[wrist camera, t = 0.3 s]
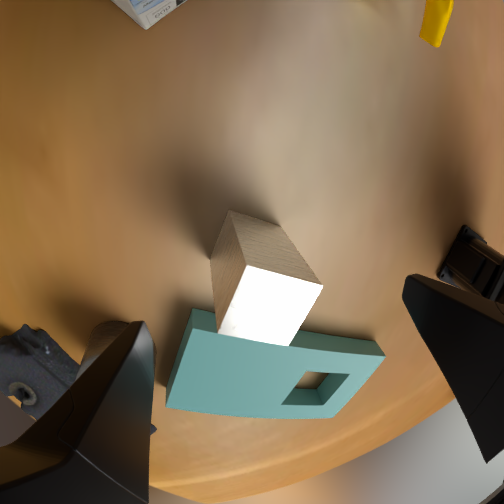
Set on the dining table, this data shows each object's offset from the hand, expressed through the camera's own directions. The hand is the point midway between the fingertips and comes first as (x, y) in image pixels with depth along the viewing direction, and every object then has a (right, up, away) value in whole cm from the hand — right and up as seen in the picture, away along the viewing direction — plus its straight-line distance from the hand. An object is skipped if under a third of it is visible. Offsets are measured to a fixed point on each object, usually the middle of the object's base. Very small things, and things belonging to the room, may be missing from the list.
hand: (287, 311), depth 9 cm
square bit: (-2, +2, +12) cm, 12 cm away
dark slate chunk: (-24, -16, +17) cm, 33 cm away
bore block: (+1, -10, +19) cm, 21 cm away
